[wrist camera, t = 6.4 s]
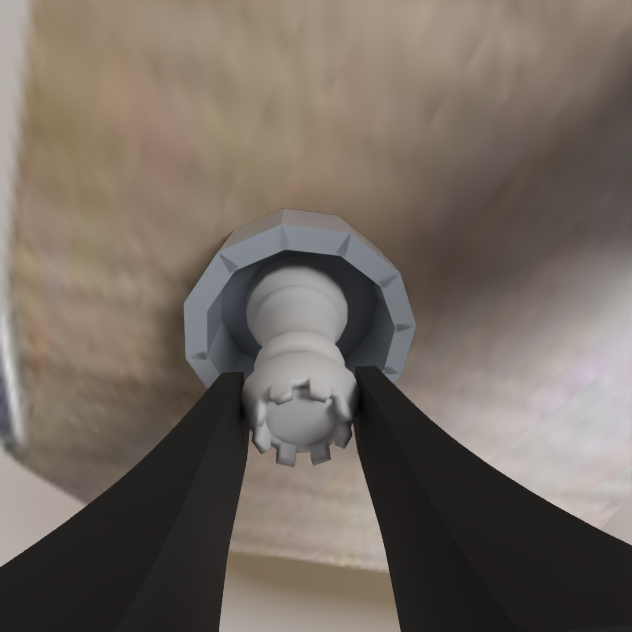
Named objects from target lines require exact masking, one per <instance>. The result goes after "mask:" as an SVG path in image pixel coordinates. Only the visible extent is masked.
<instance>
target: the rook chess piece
mask: <svg viewBox="0 0 632 632" xmlns="http://www.w3.org/2000/svg"><path fill="white" fill-rule="evenodd" d="M346 296H347V294H346V291H345V289H344V287H343V284H342V282H341V280H340V277H339V276H338V275H337V274H336V273H335V272H334V271H333V270H331V269H330V268H329V267H328V266H327V265H326V264H325V263H322V262H320V261H317V260H314V259H312V258H309V257H306V256H300V257H283V258H281V259H279V260H277V261H274V262H272V263H270V264H268V265H266V266H265V267H264V268H263V269H262V270H261V271H260V272H259V273H258V274H257V275H256V276H255V277H254V278H253V280H252V282H251V285H250V288H249V291H248V294H247V297H246V301H247V303H246V306H245V307H246V316H247V325H248V327H249V329H250V331H251V333H252V334H253V336H254V338H255V339H256V341H257V343H258V344H259V345H261V346H262V349H261V350H260V351H259V353H258V356H257V358H256V361H255V364H254V372H253V373H252V374H251V375H250V376H249V377H248V378H246V381H245V383H244V386H243V389H242V391H241V394H240V403H241V410H242V417H243V419H244V420H245V422H246V423H247V424H248V426H249V427H250V429H251V430H252V432H253V436H252V442H253V444H254V445H255V446H256V448H257V449H258V451H259V452H260V453H261V454H262V453H264V452H266V451H268V450H269V449H270V447H271V446H273V447H274V448H276V449H277V454H276V463H278V464H282V465H287V466H291V467H294V466H295V461H296V453H302V452H310V453H311V460H312V464H313V466H314V465H317V464H320V463H323V462H325V461H328V460H331V458H330V450H329V445H330V444H332V443H333V442H334V441H335V445H337V446H339V447H341V448H343V449H345V447H346V445H347V444H348V442H349V440H350V439H351V437H352V431H351V425H352V423H353V421H354V420H355V418H356V416H357V414H358V413H359V410H360V394H361V390H360V388H359V386H358V383H357V381H356V379H355V377H354V375H353V373H352V372H351V371H349V370H348V369H347V368H346V367H345V361H344V359H343V357H342V355H341V353H340V350H339V348H338V347H337V346H336V345H335V343H336V342H337V341H338V340H339V338H340V336H341V334H342V332H343V330H344V328H345V326H346V324H347V319H348V301H347V299H346Z"/></svg>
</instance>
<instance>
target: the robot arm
mask: <svg viewBox="0 0 632 632" xmlns="http://www.w3.org/2000/svg"><path fill="white" fill-rule="evenodd" d="M355 379H356V381H357V383H358V386H359V388H360V390H361V394H360V410H359V413H358V414H357V416H356V418H355V420H354V421H353V426H354V432H355V438H356V444H357V450H358V454H359V458H360V461H361V465H362V468H363V472H364V475H365V479H366V482H367V486H368V489H369V492H370V496H371V499H372V503H373V506H374V510H375V513H376V516H377V520H378V523H379V527H380V531H381V535H382V539H383V543H384V547H385V551H386V556H387V562H388V567H389V572H390V577H391V582H392V587H393V592H394V597H395V602H396V608H397V613H398V619H399V624H400V629H401V632H632V545H630V544H628V543H626V542H624V541H622V540H619V539H617V538H615V537H613V536H611V535H609V534H607V533H605V532H603V531H601V530H599V529H597V528H595V527H593V526H592V525H590V524H588V523H586V522H584V521H582V520H581V519H579V518H577V517H575V516H573V515H571V514H570V513H568V512H566V511H564V510H562V509H561V508H559V507H557V506H555V505H553V504H552V503H550V502H548V501H546V500H545V499H543V498H541V497H540V496H538V495H536V494H534V493H533V492H531V491H529V490H528V489H526V488H525V487H523V486H522V485H520V484H518V483H517V482H515V481H514V480H512V479H510V478H509V477H507V476H506V475H504V474H502V473H501V472H499V471H498V470H496V469H495V468H493V467H492V466H490V465H489V464H487V463H486V462H485V461H483V460H482V459H480V458H479V457H478V456H476V455H475V454H474V453H472V452H471V451H469V450H468V449H467V448H465V447H464V446H463V445H461V444H460V443H459V442H457V441H456V440H455V439H453V438H452V437H451V436H450V435H448V434H447V433H446V432H445V431H444V430H442V429H441V428H440V427H439V426H438V425H436V424H435V423H434V422H433V421H432V420H431V419H429V418H428V417H427V416H426V415H425V414H424V413H423V412H422V411H421V410H420V409H419V408H417V407H416V406H415V405H414V404H413V403H412V402H411V401H410V400H409V399H408V398H407V397H406V396H405V395H404V394H403V393H402V392H401V391H400V390H399V389H398V388H397V387H396V386H395V385H394V384H393V383H392V382H391V381H390V380H389V379H388V378H387V377H386V376H385V375H384V374H383V372H382V371H381V370H380V369H379V368H378V367H377V366H358V367H355ZM244 383H245V381H244V373H243V372H226V373H221V374H220V375H219V376H218V378H217V379H216V380H215V381H214V382H213V384H212V385H211V386H210V387H209V389H208V390H207V391H206V392H205V393H204V395H203V396H202V397H201V398H200V399H199V400H198V402H197V403H196V404H195V405H194V406H193V407H192V409H191V410H190V411H189V412H188V413H187V414H186V415H185V416H184V418H183V419H182V420H181V421H180V422H179V423H178V424H177V425H176V426H175V427H174V428H173V429H172V430H171V431H170V433H169V434H168V435H167V436H166V437H165V438H164V439H163V440H162V441H161V442H160V443H159V444H158V445H157V446H156V447H155V448H154V449H153V450H152V451H151V452H150V453H149V454H148V455H146V456H145V457H144V458H143V459H142V460H141V461H140V462H139V463H138V464H137V465H136V466H135V467H134V468H132V469H131V470H130V471H129V472H128V473H127V474H125V475H124V476H123V477H122V478H121V479H120V480H119V481H117V482H116V483H115V484H114V485H113V486H111V487H110V488H109V489H108V490H106V491H105V492H104V493H102V494H101V495H100V496H99V497H97V498H96V499H95V500H93V501H92V502H91V503H90V504H88V505H87V506H86V507H84V508H83V509H82V510H81V511H79V512H78V513H77V514H75V515H74V516H73V517H71V518H70V519H69V520H68V521H66V522H65V523H63V524H62V525H61V526H59V527H58V528H57V529H55V530H54V531H52V532H51V533H49V534H48V535H47V536H45V537H44V538H42V539H41V540H40V541H38V542H37V543H35V544H34V545H32V546H31V547H30V548H28V549H27V550H25V551H24V552H22V553H21V554H19V555H18V556H16V557H15V558H13V559H12V560H10V561H9V562H7V563H6V564H4V565H3V566H1V567H0V632H219V623H220V614H221V606H222V597H223V589H224V580H225V572H226V563H227V556H228V550H229V545H230V539H231V534H232V529H233V524H234V519H235V515H236V510H237V505H238V500H239V495H240V491H241V486H242V481H243V476H244V471H245V466H246V461H247V453H248V443H249V431H250V427H249V426H248V424H247V423H246V422H245V420H244V419H243V417H242V410H241V403H240V394H241V391H242V389H243V386H244Z"/></svg>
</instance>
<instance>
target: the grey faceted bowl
mask: <svg viewBox="0 0 632 632" xmlns="http://www.w3.org/2000/svg"><path fill="white" fill-rule="evenodd" d="M300 256H306V257H309V258H312V259H314V260H317V261H320V262H322V263H325V264H326V265H327V266H328V267H329V268H330V269H331V270H333V271H334V272H335V273H336V274H337V275H338V276H339V277H340V280H341V282H342V284H343V287H344V289H345V291H346V294H347V296H346V299H347V301H348V319H347V324H346V326H345V328H344V330H343V332H342V334H341V336H340V338H339V340H338V341H337V342H336V343H335V345H336V346H337V347H338V348H339V350H340V353H341V355H342V357H343V359H344V361H345V367H346V368H347V369H348V370H349V371H351V372H352V373H353V375H354V377H355V367H358V366H377V367H378V368H379V369H380V370H381V371H382V372H383V374H384V375H385V376H386V377H387V378H388V379H389V380H390V381H391V382H392V383H394V382H395V381H396V380H397V379H398V378H399V377H400V376H401V375H402V373H403V369H404V366H405V363H406V359H407V356H408V352H409V349H410V346H411V342H412V339H413V336H414V332H415V329H416V322H415V319H414V316H413V313H412V309H411V306H410V303H409V300H408V297H407V293H406V290H405V287H404V284H403V280H402V277H401V274H400V272H399V271H398V270H397V269H396V268H395V266H394V265H393V264H392V263H391V262H390V261H389V260H388V259H387V258H386V256H385V255H384V254H383V253H382V252H381V251H380V250H379V249H378V248H377V247H376V246H375V245H374V244H373V243H371V242H370V241H369V240H368V239H366V238H365V237H364V236H363V235H361V234H360V233H359V232H358V231H356V230H355V229H354V228H353V227H352V226H350V225H349V224H348V223H347V222H345V221H344V220H343V219H342V218H340V217H339V216H338V215H331V214H323V213H316V212H308V211H300V210H293V209H285V208H283V209H281V210H279V211H276V212H274V213H272V214H269V215H267V216H265V217H263V218H260V219H258V220H256V221H254V222H251V223H249V224H247V225H245V226H242V227H240V228H238V229H235V230H234V231H233V232H232V234H231V235H230V236H229V238H228V239H227V240H226V242H225V243H224V244H223V246H222V247H221V248H220V250H219V251H218V252H217V254H216V255H215V257H214V258H213V260H212V261H211V263H210V264H209V266H208V267H207V269H206V270H205V272H204V274H203V275H202V277H201V278H200V280H199V281H198V283H197V284H196V286H195V287H194V289H193V290H192V292H191V293H190V295H189V296H188V298H187V299H186V301H185V302H184V326H185V354H186V360H187V361H188V362H189V364H190V365H191V367H192V368H193V370H194V371H195V372H196V374H197V375H198V377H199V378H200V379H201V381H202V382H203V384H204V385H205V387H206V388H207V389H209V387H210V386H211V385H212V384H213V382H214V381H215V380H216V379H217V378H218V376H219V375H220V374H221V373H226V372H243V373H244V381H246V378H248V377H249V376H250V375H251V374H252V373H253V372H254V364H255V361H256V358H257V356H258V353H259V351H260V350H261V349H262V346H261V345H259V344H258V343H257V341H256V339H255V338H254V336H253V334H252V333H251V331H250V329H249V327H248V325H247V316H246V307H245V306H246V303H247V301H246V297H247V294H248V291H249V288H250V285H251V282H252V280H253V278H254V277H255V276H256V275H257V274H258V273H259V272H260V271H261V270H262V269H263V268H264V267H265V266H266V265H268V264H270V263H272V262H274V261H277V260H279V259H281V258H283V257H300Z"/></svg>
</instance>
